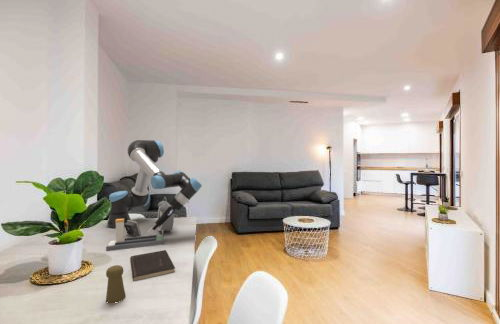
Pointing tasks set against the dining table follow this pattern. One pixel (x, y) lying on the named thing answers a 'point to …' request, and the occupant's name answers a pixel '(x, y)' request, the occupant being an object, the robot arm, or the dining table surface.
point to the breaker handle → (120, 230)
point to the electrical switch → (132, 228)
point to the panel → (136, 242)
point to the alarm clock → (162, 208)
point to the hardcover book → (151, 265)
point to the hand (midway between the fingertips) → (149, 233)
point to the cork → (115, 284)
